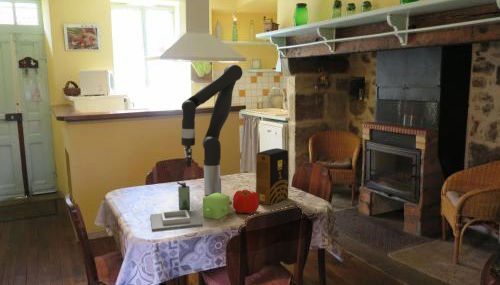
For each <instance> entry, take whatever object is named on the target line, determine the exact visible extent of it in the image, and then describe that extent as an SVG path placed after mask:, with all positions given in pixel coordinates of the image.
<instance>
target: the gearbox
mask: <svg viewBox="0 0 500 285" xmlns="http://www.w3.org/2000/svg"><path fill="white" fill-rule="evenodd" d="M231 205H233V200H230V195H228V194H226V193H225V194H224V193H222V192H221V193H214V194H211V195H205V197H203V198H202V216H203V217H206V218H209V219H214V220H218V219H221V218H222V217H224V216H227V215H228V214H230V206H231Z"/></svg>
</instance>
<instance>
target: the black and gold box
mask: <svg viewBox="0 0 500 285" xmlns="http://www.w3.org/2000/svg"><path fill="white" fill-rule="evenodd" d="M255 155H256V156H255V158H256V159H255V160H256V163H255V166H256V167H255V192H256V193H257V194H258V197H259V204H262V205H268V206H271V205H272V206H273V205H274V204H277V203H279V202H282V201H284V200H286V199H288V198H289V151H288V149H282V148H278V147H277V148H270V149H266V150H263V151H260V152H258V153H256V154H255Z"/></svg>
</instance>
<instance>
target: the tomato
mask: <svg viewBox="0 0 500 285" xmlns="http://www.w3.org/2000/svg"><path fill="white" fill-rule="evenodd" d="M232 206H233V209H234V210H235V212H238V213H239V214H248V215H249V214H250V215H251V214H254V213H256V211H257V210H258V209H259V207H260V203H259V197H258V194H257V193H256V191H251V190H248V189H242V190H237V191H235V193H234V194H233V197H232Z"/></svg>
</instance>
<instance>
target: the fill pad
mask: <svg viewBox="0 0 500 285" xmlns="http://www.w3.org/2000/svg"><path fill="white" fill-rule="evenodd" d="M149 216H150V224H151V230H152V232H156V231H158V232H159V231H165V230H177V229H185V228H186V229H187V228H194V227H203V222H202V220H201V218H200V215H199V214H198V211H197V210H193V209H192V210H190V211H187V210H179V209H178V210H170V211H168V210H167V211H161V213H152V214H150V215H149Z"/></svg>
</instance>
